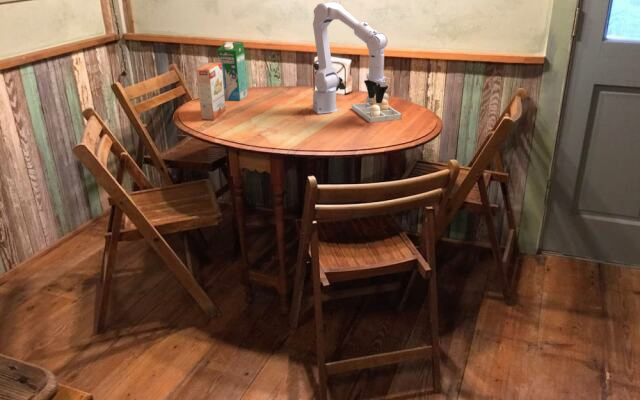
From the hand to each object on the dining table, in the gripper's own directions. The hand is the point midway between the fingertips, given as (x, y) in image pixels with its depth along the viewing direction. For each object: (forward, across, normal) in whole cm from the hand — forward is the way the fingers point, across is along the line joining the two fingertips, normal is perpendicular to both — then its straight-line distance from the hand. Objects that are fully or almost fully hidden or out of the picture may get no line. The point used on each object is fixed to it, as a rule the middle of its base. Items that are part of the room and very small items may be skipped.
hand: (375, 100), depth 218 cm
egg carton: (+8, +6, -3) cm, 11 cm away
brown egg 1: (+8, +13, -6) cm, 17 cm away
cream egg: (+8, 0, 0) cm, 8 cm away
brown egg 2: (+8, +6, -7) cm, 12 cm away
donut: (+6, +22, -13) cm, 27 cm away
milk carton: (+9, +54, +48) cm, 73 cm away
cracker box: (+9, +30, +61) cm, 68 cm away
